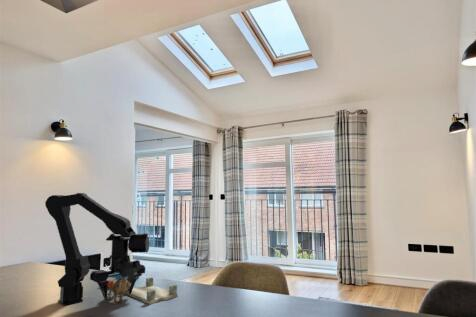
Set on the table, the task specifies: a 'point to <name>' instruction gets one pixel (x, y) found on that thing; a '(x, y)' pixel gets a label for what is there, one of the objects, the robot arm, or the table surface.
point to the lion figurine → (118, 288)
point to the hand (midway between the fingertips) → (118, 296)
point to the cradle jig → (152, 292)
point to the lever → (116, 279)
